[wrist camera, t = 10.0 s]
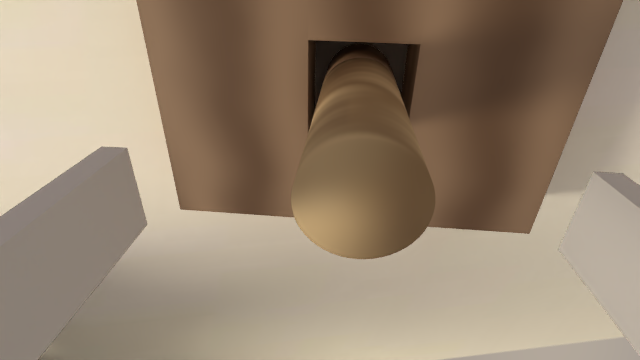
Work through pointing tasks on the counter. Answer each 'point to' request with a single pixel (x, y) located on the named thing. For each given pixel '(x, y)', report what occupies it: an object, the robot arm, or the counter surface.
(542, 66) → the seat board
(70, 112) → the counter surface
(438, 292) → the counter surface
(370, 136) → the oak dowel
